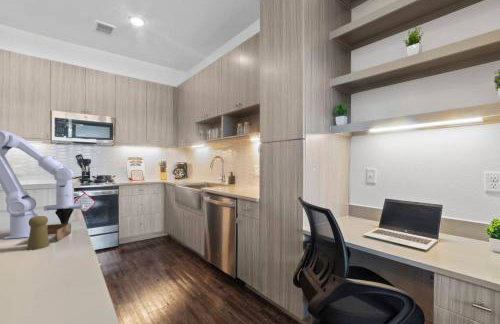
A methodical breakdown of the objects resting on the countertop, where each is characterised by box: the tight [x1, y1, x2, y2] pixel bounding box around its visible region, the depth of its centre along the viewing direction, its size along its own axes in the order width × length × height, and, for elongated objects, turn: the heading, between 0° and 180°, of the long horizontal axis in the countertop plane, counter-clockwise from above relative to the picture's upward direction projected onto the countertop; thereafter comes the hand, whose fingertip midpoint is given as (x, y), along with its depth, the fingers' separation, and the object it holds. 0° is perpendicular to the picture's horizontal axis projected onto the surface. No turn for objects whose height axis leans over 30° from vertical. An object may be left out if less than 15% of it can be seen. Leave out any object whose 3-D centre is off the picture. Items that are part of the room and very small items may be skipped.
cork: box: [26, 215, 50, 251], centre depth 85 cm, size 6×6×11 cm
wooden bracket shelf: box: [46, 222, 72, 242], centre depth 94 cm, size 11×9×4 cm
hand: (64, 225), depth 104 cm, fingers closed
